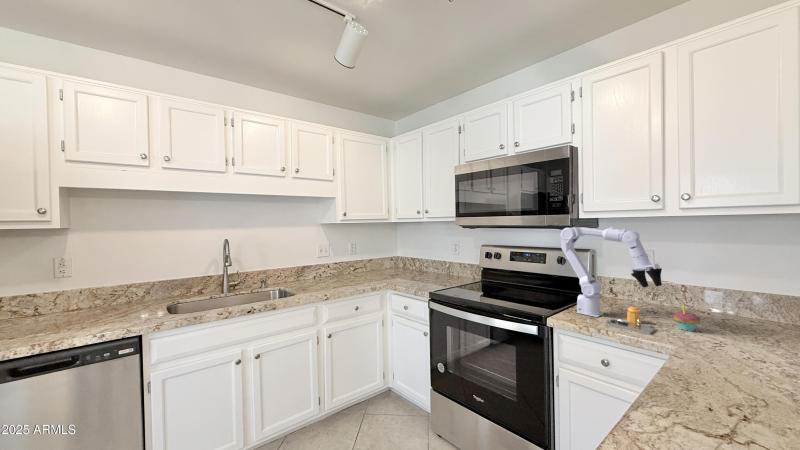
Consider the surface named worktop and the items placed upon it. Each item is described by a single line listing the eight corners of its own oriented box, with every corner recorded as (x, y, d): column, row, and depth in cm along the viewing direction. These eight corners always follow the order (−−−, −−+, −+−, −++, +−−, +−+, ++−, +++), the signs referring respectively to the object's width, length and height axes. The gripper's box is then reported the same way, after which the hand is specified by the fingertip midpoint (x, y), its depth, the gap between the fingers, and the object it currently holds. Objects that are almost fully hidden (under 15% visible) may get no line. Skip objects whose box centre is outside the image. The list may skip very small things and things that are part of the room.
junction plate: (605, 324, 141) (605, 315, 141) (612, 320, 147) (612, 311, 147) (650, 334, 129) (650, 324, 129) (656, 329, 134) (656, 320, 134)
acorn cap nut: (626, 321, 144) (626, 307, 144) (629, 319, 147) (629, 305, 147) (638, 324, 141) (638, 309, 141) (641, 322, 144) (641, 307, 144)
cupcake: (690, 333, 129) (690, 304, 129) (667, 327, 137) (668, 299, 137) (705, 331, 131) (705, 302, 131) (682, 325, 140) (682, 297, 139)
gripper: (659, 251, 135) (674, 282, 132) (635, 256, 149) (648, 285, 146) (644, 255, 134) (658, 287, 131) (621, 260, 149) (633, 289, 145)
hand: (652, 286), depth 138 cm, fingers open, 7 cm apart
